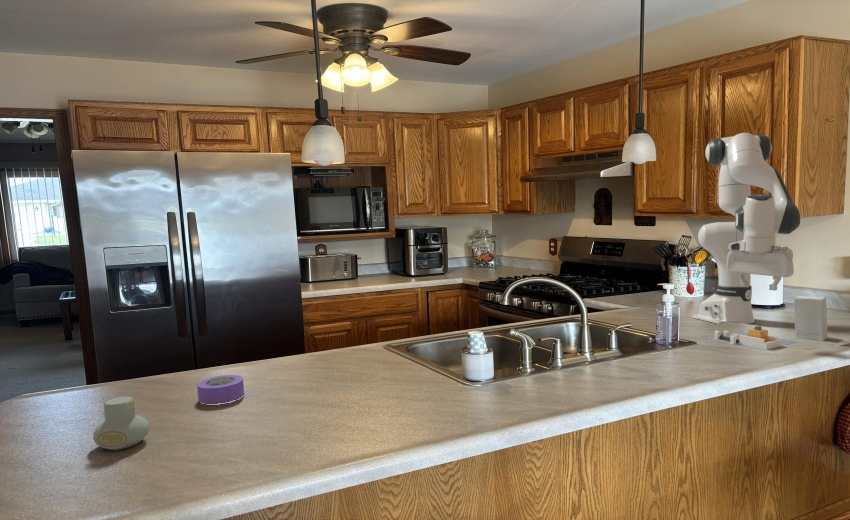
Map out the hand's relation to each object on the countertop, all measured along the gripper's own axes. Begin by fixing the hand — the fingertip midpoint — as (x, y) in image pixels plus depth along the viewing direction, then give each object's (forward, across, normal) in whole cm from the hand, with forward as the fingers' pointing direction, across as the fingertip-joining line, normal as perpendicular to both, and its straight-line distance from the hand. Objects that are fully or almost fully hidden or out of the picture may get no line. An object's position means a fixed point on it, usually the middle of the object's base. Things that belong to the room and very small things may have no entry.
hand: (758, 288), depth 186 cm
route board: (+19, +4, -3) cm, 20 cm away
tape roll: (+18, +48, +159) cm, 167 cm away
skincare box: (+20, -5, -21) cm, 29 cm away
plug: (+18, -1, +1) cm, 18 cm away
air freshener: (+18, +27, +183) cm, 186 cm away
